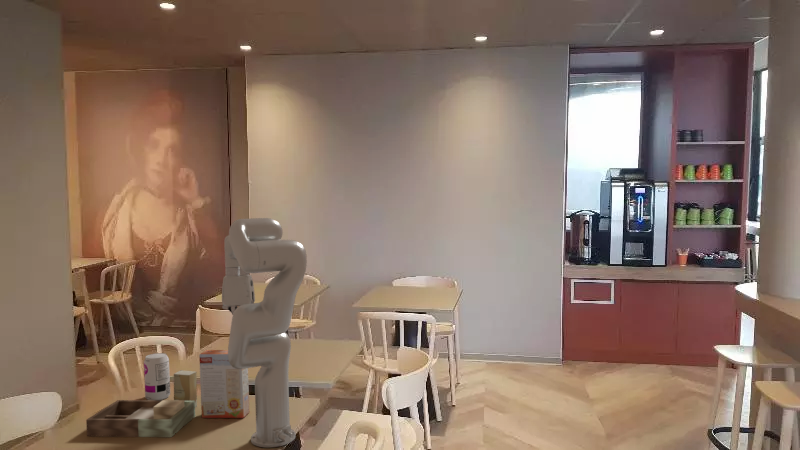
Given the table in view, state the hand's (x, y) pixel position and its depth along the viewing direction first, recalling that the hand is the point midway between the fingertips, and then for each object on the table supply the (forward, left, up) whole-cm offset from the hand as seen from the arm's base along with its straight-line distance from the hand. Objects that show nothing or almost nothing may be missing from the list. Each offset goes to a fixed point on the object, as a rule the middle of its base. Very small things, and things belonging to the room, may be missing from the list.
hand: (239, 326), depth 200 cm
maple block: (+1, +24, -24) cm, 34 cm away
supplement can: (+30, +16, -27) cm, 44 cm away
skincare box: (+12, +14, -27) cm, 33 cm away
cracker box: (-4, +8, -27) cm, 29 cm away
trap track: (+7, +30, -27) cm, 41 cm away
